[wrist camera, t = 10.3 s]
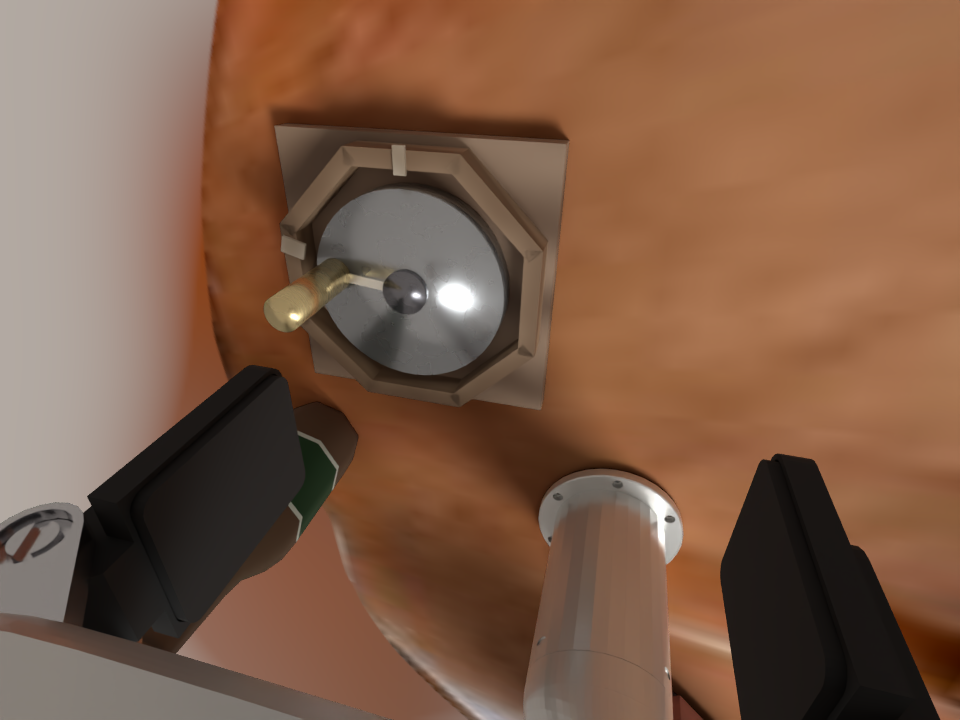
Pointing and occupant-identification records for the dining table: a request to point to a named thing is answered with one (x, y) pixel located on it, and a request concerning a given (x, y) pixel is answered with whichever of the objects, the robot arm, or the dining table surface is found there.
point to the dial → (404, 280)
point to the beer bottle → (325, 463)
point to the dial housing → (478, 183)
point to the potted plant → (683, 709)
